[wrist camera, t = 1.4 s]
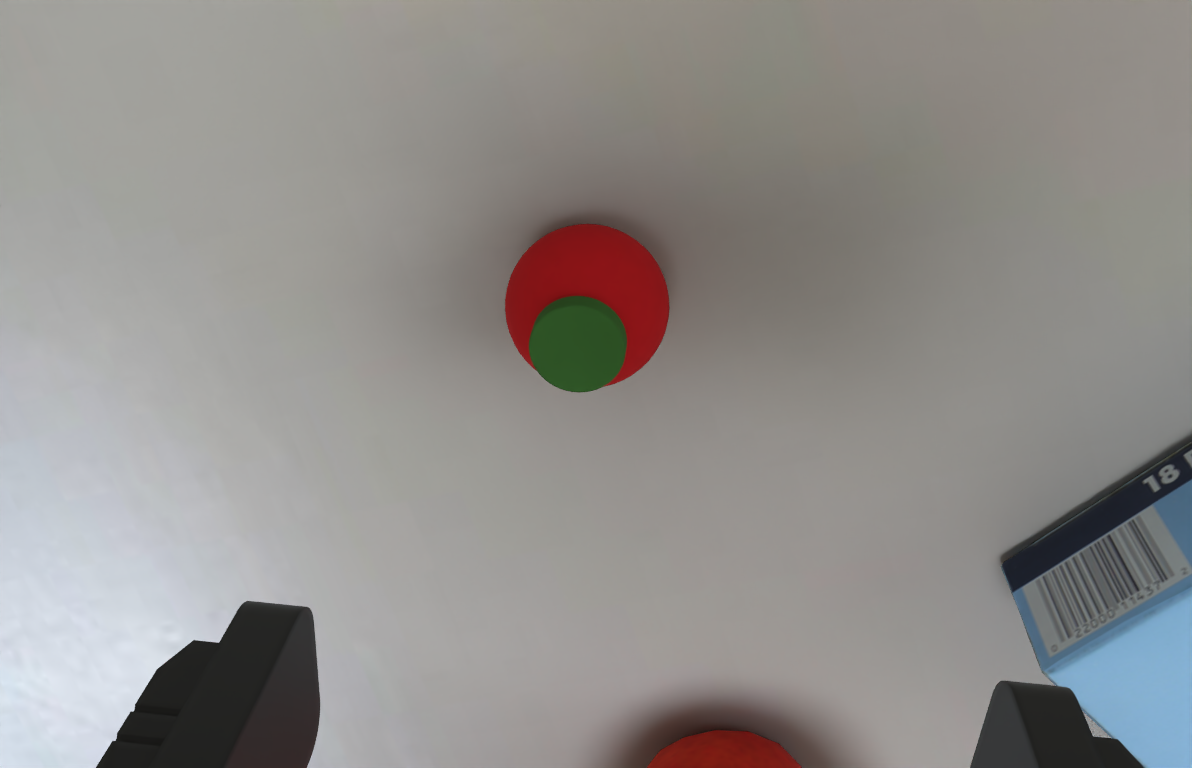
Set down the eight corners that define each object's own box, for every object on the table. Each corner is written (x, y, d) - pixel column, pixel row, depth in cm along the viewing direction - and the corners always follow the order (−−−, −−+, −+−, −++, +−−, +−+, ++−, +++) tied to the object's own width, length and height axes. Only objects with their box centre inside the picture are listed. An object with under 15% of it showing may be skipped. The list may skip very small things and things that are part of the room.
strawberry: (672, 201, 28) (666, 269, 24) (670, 345, 30) (664, 429, 26) (514, 200, 28) (483, 266, 24) (522, 342, 30) (494, 424, 26)
